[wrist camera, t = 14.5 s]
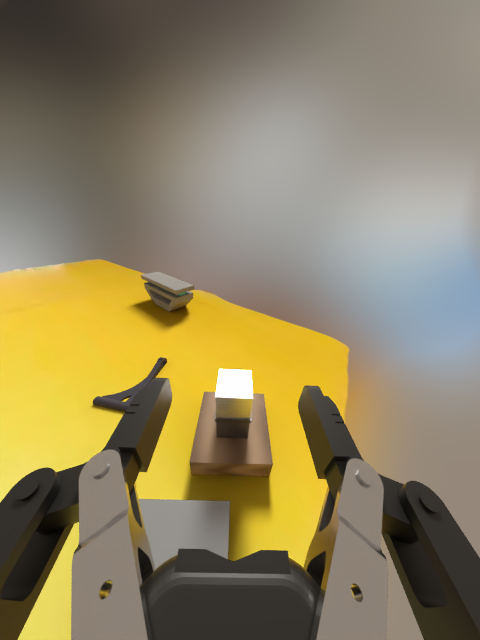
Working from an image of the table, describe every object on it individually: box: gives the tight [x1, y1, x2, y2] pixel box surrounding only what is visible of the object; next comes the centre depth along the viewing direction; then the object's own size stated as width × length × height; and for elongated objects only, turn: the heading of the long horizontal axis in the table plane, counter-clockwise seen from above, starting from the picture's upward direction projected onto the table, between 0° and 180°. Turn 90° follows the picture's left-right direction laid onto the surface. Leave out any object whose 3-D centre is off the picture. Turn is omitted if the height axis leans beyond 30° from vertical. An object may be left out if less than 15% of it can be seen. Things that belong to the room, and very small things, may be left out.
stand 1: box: [139, 499, 230, 570], centre depth 19 cm, size 12×12×4 cm
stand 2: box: [190, 392, 273, 476], centre depth 33 cm, size 12×12×4 cm
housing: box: [214, 369, 253, 439], centre depth 29 cm, size 5×5×10 cm
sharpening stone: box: [141, 272, 194, 312], centre depth 76 cm, size 25×8×11 cm, turn 51°
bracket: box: [93, 357, 167, 412], centre depth 42 cm, size 14×15×3 cm
